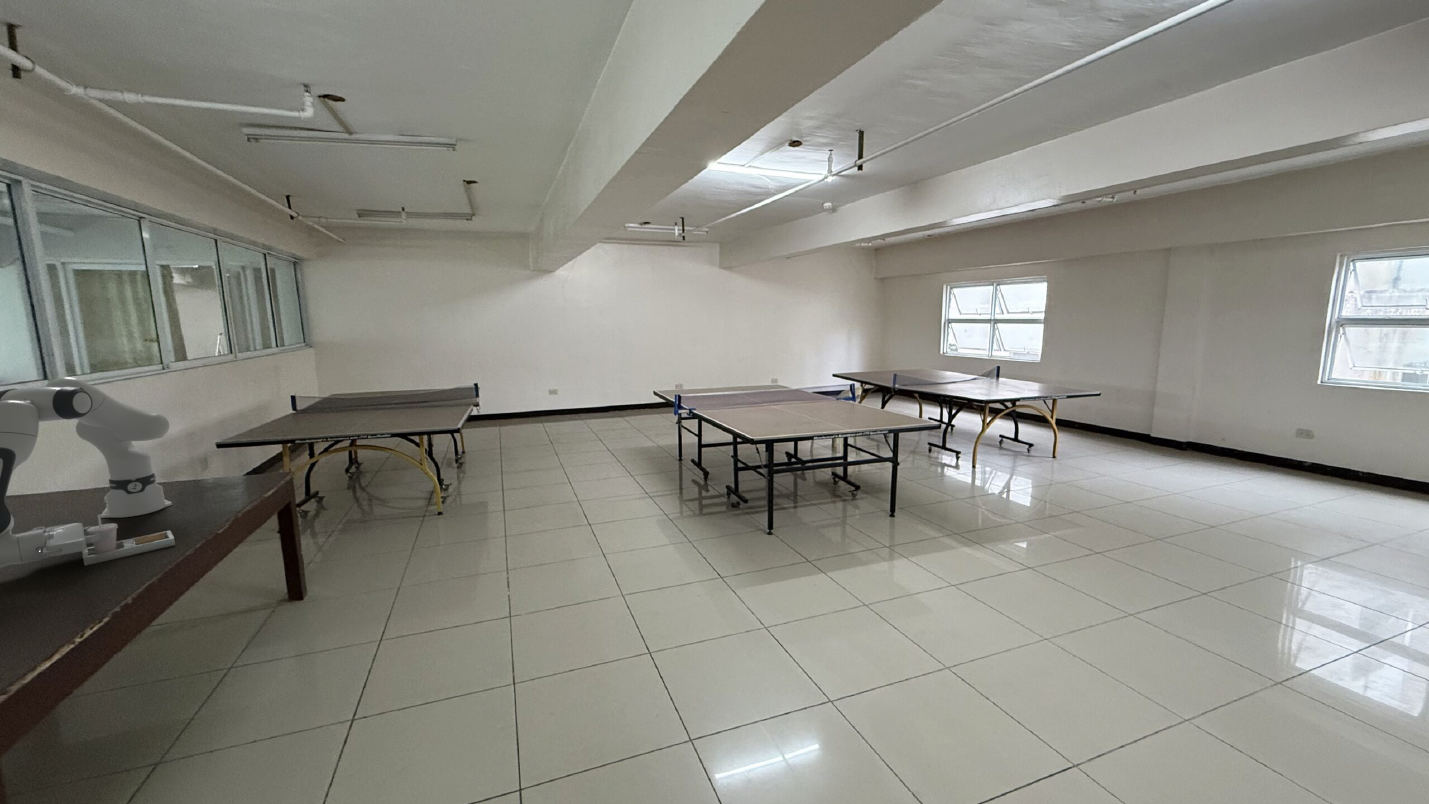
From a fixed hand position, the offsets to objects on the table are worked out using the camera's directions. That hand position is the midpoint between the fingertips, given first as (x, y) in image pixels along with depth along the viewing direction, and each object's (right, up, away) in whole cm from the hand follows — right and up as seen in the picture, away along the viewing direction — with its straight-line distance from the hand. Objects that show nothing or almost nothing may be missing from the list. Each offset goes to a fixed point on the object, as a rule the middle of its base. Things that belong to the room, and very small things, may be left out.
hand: (107, 531), depth 167 cm
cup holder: (+2, -8, +5) cm, 9 cm away
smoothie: (-1, -8, +1) cm, 8 cm away
